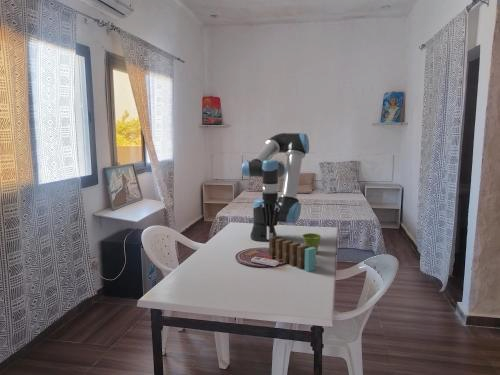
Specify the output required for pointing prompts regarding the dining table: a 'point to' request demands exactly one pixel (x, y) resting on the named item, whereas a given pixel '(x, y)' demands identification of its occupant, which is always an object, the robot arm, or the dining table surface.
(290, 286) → the dining table surface
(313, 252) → the domino
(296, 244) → the domino
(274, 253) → the domino
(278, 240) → the domino
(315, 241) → the plant pot
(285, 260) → the domino
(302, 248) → the domino
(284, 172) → the robot arm
